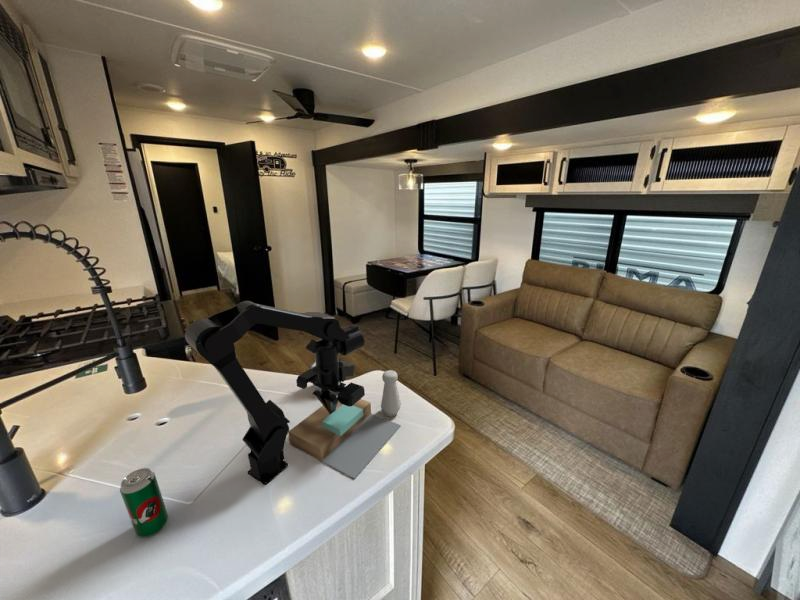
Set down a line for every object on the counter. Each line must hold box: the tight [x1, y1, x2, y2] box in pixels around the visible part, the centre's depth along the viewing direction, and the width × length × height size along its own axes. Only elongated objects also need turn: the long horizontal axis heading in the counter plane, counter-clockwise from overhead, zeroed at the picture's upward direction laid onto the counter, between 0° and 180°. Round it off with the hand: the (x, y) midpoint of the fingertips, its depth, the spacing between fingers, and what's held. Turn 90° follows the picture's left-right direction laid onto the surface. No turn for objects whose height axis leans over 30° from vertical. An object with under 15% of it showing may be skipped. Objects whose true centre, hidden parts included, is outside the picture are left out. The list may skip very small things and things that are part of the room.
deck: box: [287, 398, 372, 463], centre depth 86 cm, size 20×11×4 cm, turn 149°
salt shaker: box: [380, 369, 402, 418], centre depth 91 cm, size 6×6×13 cm
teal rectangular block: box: [322, 405, 363, 436], centre depth 83 cm, size 9×6×2 cm, turn 148°
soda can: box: [119, 467, 169, 538], centre depth 59 cm, size 5×5×12 cm
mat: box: [321, 413, 402, 480], centre depth 81 cm, size 20×10×1 cm, turn 149°
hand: (332, 413), depth 85 cm, fingers closed
